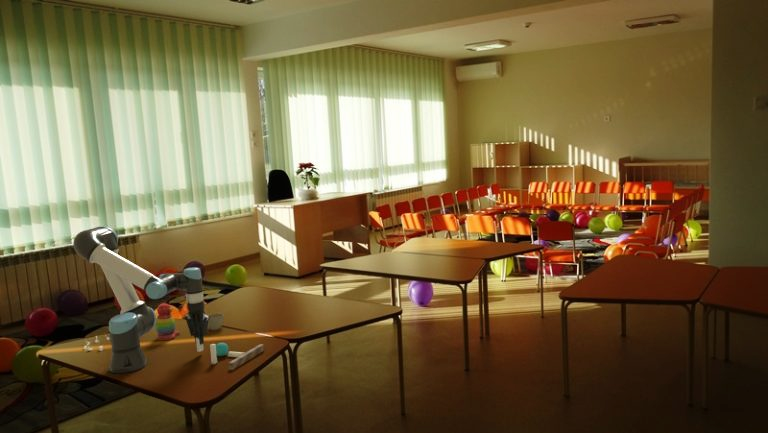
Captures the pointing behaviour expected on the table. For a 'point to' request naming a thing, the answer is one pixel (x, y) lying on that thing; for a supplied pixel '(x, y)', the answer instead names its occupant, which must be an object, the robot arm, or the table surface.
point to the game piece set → (92, 348)
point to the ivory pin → (235, 354)
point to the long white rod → (246, 357)
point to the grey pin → (213, 353)
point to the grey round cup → (215, 321)
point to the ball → (221, 349)
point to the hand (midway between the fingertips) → (200, 350)
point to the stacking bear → (165, 323)
